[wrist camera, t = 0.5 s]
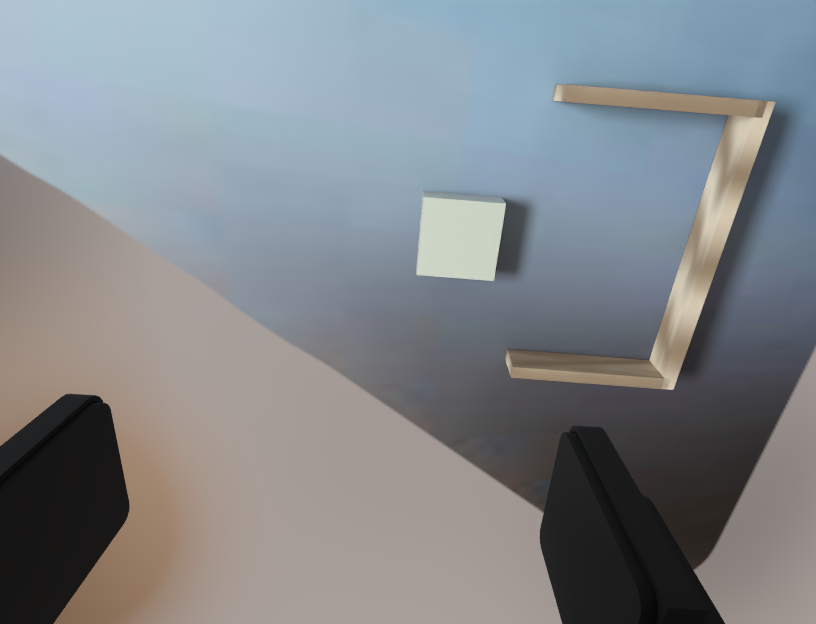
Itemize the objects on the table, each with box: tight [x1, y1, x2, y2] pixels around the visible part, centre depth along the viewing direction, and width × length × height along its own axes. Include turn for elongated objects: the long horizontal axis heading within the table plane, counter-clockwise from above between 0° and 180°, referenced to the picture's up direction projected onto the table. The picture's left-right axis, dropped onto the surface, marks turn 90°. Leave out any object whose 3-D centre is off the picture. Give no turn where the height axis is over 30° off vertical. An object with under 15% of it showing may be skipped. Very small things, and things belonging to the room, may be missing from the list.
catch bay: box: [505, 85, 775, 390], centre depth 37 cm, size 22×14×3 cm, turn 176°
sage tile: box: [417, 191, 506, 281], centre depth 38 cm, size 6×6×2 cm
